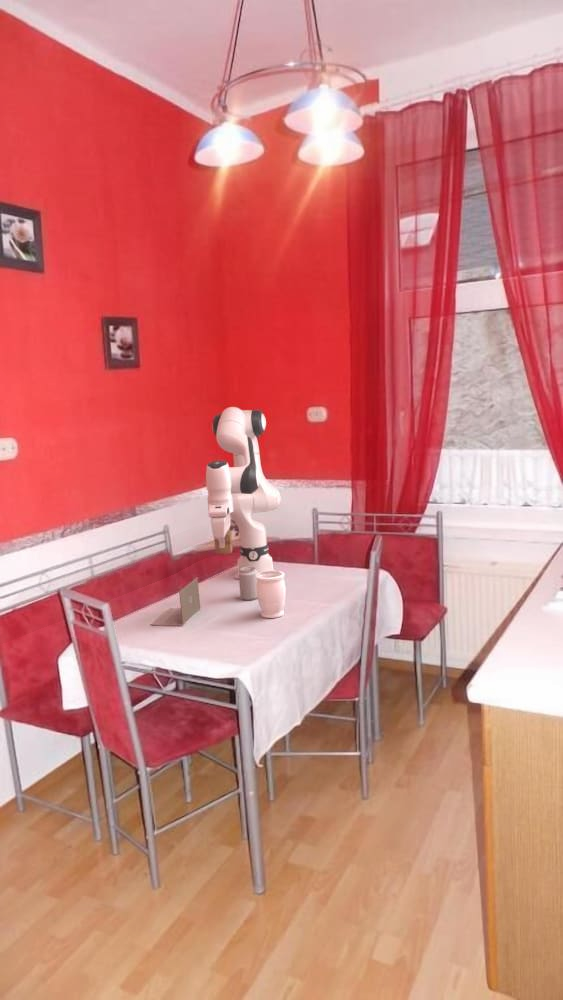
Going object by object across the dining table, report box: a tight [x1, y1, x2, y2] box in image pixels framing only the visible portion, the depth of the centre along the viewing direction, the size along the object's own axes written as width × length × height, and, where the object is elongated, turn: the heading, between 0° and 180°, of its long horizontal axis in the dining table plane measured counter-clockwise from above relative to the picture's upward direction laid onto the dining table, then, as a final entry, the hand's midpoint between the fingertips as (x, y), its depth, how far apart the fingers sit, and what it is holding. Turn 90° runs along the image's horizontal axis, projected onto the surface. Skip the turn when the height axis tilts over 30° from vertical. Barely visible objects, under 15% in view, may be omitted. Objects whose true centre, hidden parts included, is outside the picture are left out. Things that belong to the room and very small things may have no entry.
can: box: [238, 567, 258, 601], centre depth 277 cm, size 8×8×12 cm
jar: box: [256, 570, 287, 619], centre depth 256 cm, size 11×10×15 cm
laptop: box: [150, 576, 201, 627], centre depth 260 cm, size 18×12×13 cm
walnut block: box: [213, 530, 234, 555], centre depth 255 cm, size 6×6×7 cm
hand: (223, 545), depth 255 cm, fingers closed on walnut block, 5 cm apart
